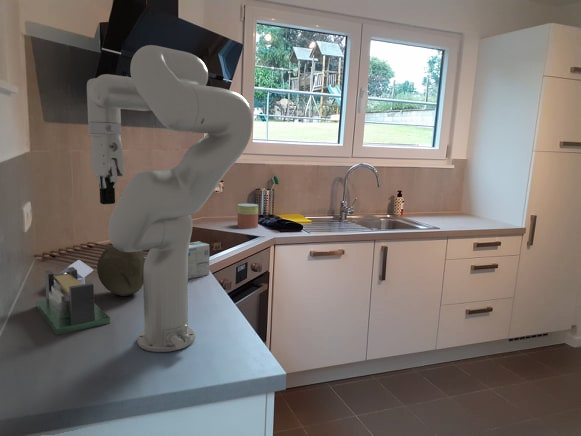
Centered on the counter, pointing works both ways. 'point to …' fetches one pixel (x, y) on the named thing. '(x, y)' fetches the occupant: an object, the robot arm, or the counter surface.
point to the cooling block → (70, 306)
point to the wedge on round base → (81, 272)
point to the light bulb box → (198, 259)
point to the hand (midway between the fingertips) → (107, 203)
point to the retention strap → (66, 281)
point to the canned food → (247, 216)
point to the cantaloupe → (121, 271)
